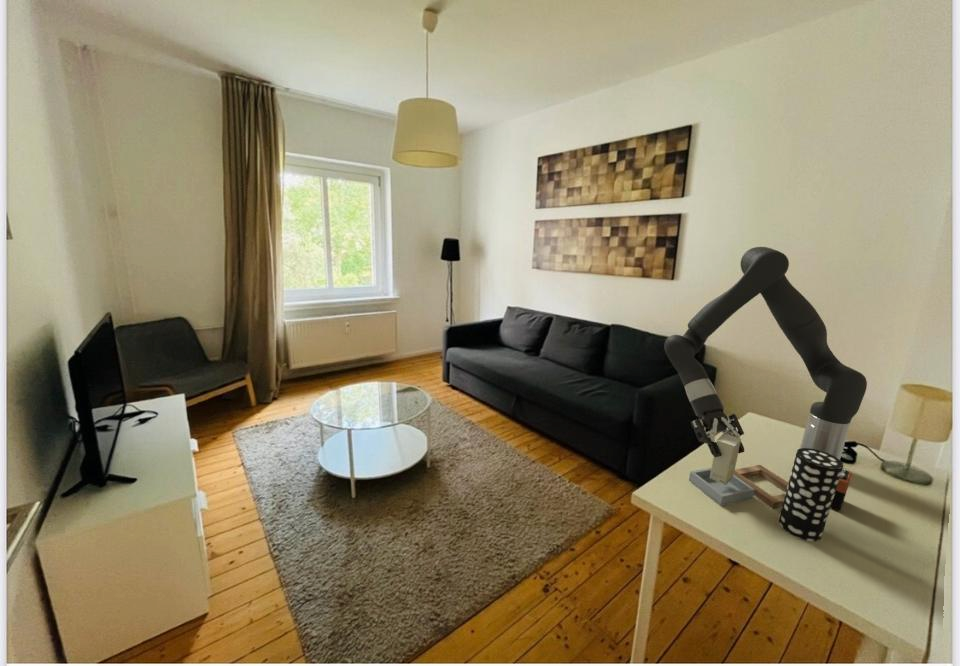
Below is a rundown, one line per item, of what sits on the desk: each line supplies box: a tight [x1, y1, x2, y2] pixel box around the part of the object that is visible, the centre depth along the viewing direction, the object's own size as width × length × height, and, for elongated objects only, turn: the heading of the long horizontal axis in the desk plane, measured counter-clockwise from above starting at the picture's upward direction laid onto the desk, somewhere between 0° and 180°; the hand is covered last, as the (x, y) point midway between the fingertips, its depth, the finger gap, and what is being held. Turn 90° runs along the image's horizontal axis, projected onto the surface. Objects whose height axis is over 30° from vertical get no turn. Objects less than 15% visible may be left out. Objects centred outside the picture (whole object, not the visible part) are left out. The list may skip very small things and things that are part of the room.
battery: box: [830, 467, 853, 512], centre depth 103 cm, size 4×7×10 cm, turn 131°
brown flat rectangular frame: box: [734, 464, 789, 510], centre depth 110 cm, size 12×14×2 cm
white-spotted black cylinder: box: [778, 447, 844, 542], centre depth 93 cm, size 8×8×20 cm
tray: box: [688, 467, 755, 507], centre depth 109 cm, size 11×11×3 cm
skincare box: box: [710, 433, 742, 485], centre depth 107 cm, size 6×4×12 cm
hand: (729, 454), depth 105 cm, fingers closed on skincare box, 7 cm apart
